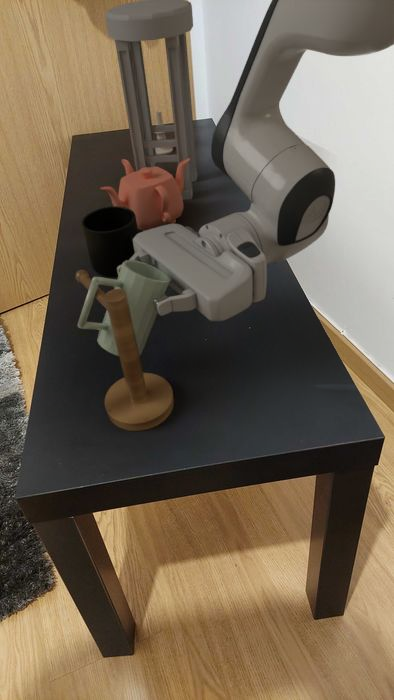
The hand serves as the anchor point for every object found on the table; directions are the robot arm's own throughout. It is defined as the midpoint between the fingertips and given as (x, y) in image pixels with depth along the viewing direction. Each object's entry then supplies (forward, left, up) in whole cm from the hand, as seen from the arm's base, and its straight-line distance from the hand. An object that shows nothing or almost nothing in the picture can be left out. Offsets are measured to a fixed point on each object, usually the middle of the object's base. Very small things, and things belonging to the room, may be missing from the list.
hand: (137, 290), depth 64 cm
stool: (+50, -29, -13) cm, 60 cm away
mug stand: (-2, +5, -13) cm, 14 cm away
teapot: (+40, -19, -13) cm, 47 cm away
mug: (+27, -7, -13) cm, 31 cm away
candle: (+71, -38, -13) cm, 82 cm away
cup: (0, +6, -6) cm, 8 cm away
